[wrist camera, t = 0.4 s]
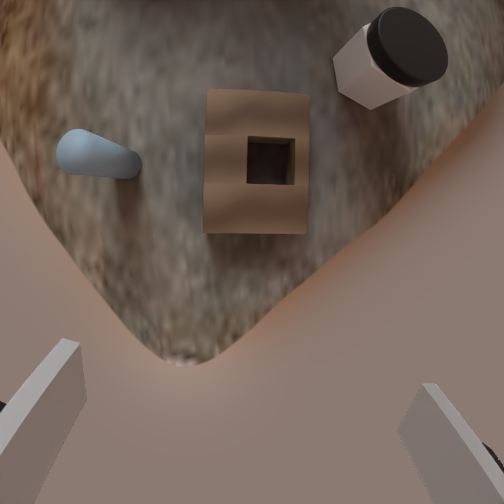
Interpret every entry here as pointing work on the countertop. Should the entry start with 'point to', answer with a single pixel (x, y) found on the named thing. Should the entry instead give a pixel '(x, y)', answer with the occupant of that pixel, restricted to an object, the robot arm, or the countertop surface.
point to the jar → (390, 58)
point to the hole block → (235, 162)
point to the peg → (95, 156)
